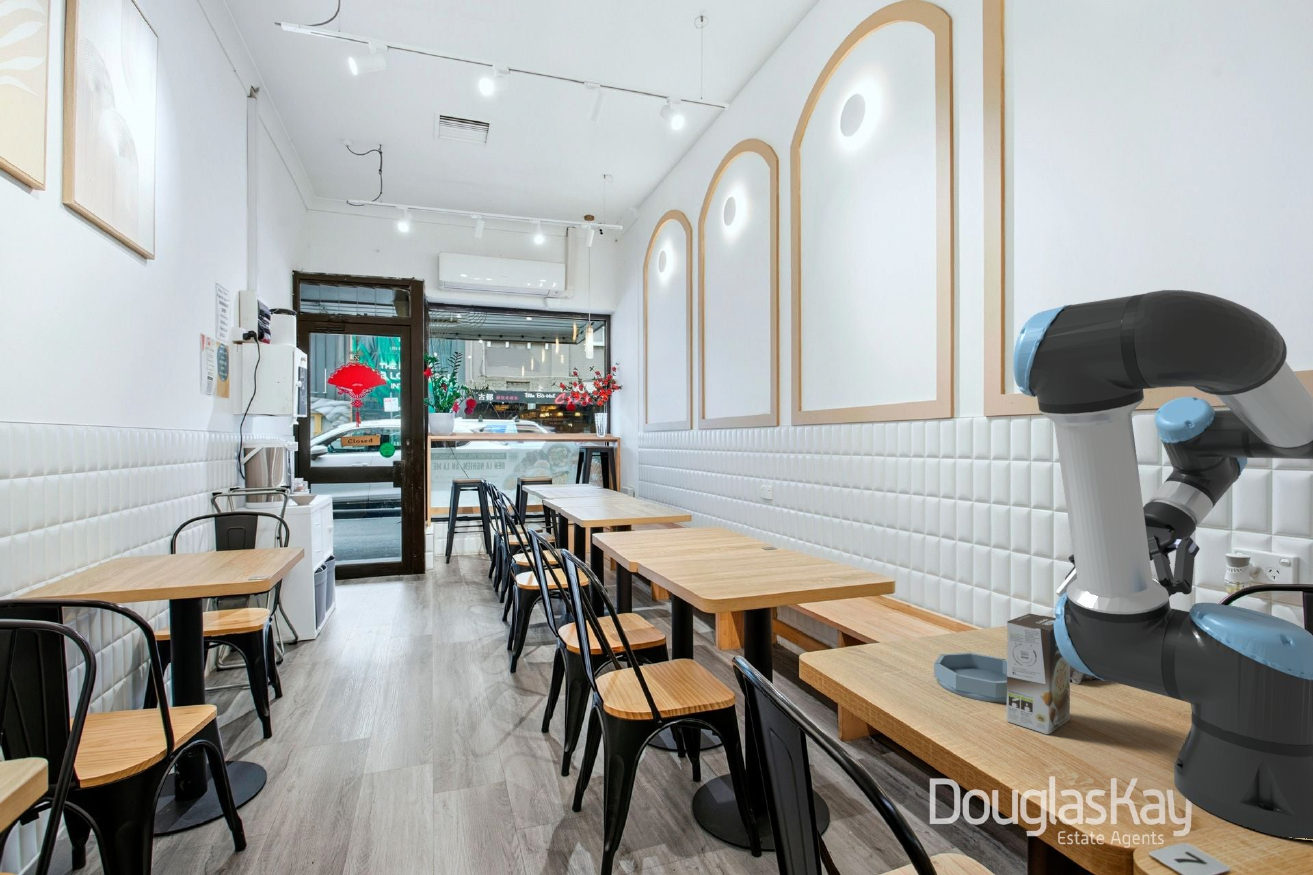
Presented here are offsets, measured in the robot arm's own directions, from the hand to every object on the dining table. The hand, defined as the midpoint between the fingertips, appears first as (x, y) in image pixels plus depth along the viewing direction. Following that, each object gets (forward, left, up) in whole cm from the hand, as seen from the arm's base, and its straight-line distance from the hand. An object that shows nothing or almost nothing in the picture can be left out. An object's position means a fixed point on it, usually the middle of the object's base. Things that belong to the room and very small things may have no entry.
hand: (1095, 608), depth 102 cm
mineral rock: (+17, -13, -18) cm, 28 cm away
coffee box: (0, +11, -18) cm, 21 cm away
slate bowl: (+14, +10, -18) cm, 25 cm away
